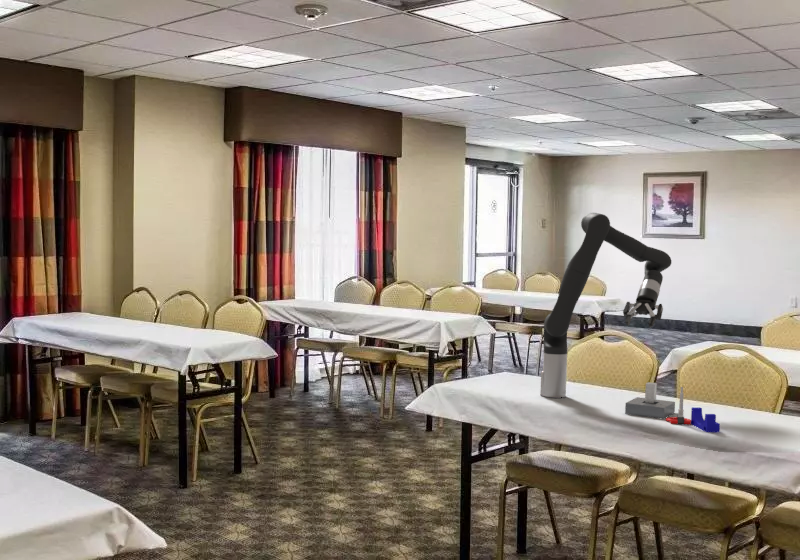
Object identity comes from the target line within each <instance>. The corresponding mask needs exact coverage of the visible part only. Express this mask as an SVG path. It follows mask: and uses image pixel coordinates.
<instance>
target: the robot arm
mask: <svg viewBox="0 0 800 560" xmlns="http://www.w3.org/2000/svg"><path fill="white" fill-rule="evenodd" d="M610 221H611V220H610V218H609V217H608V216H607V215H605V214H603V213H602V214H601V213H597V212H589V213H587V214H585V215H584V216H583V218H582V219H581V222H580V224H581V225H580V227H581V229H582V231H583V232H584V233H585V235H584V238H583V241H582V244H581V245H580V247H579V248H578V250H577V251H576V252H575V254H574V255H573V256H572V258H571V259H570V261H569V262H568V264H567V266H566V269H565V271H564V273H563V276H562V278H561V282H560V283H561V284H560V286H559V292H558V296H557V299H556V302H555V304H554V307H553V309H552V311H551V313H548V315H546V317H545V318H544V321H543V361H542V362H543V365H542V371H541V372H540V389H539V390H540V392H539V393H540V396H543V397H545V398H551V399H552V398H554V399H555V398H557V399H558V398H559V399H560V398H561V397H562V398H566V397H565V396H567V394H566V393H567V392H566V391H567V369H568V368H567V367H568V330H569V329H570V324H571V320H572V318H573V317H572V316H573V313H574V310H575V307H576V304H577V303H578V301H579V299H580V297H581V296H582V293H583V291H584V288H585V286H586V284H587V282H588V279H589V276H590V274H591V272H592V268H593V266H594V264H595V261H596V258H597V256H598V253H599V251H600V249H601V247H602V245H603V243H604V242H606V243H608V244H610V245H611V246H613V247H614V248H616V249H617V250H619V251H620V252H622V253H624V254H625V255H627V256H629V257H630V258H632V259H634V260H635V261H637V262H639V263H643V262H645V264H644V275H643V276H644V277H643V280H642V283H641V285H640V287H639V290H638V293H637V296H636V299H635V302H633V303H631V302H630V301H626V304H625V306H624V309H623V311H622V313H623V317H624V318H625V320H624V321H625V324H626V326H628V327H630V324H631V321H632V318H633V317H636V316H637V315H640V316H642V315H643V316H648V315H649V317H650V318H649V319H648V320H649V321H648V325H647V326H648V328H652V327H653V326H654V325H655V321H656V320H659V321H660V320H661V319H662V316H663V311H664V306H663V304H662V303H659V304H658V305H657V301H658V298H659V296H660V292H661V287H662V283H663V278H664V276H663V274H662V272H663V271H665V270H666V269H669V268H670V267H671V265H672V258H671V257H670V255H669V254H668V252H665V251H663V250H661V249H658V248H654V247H651V246H648V245H646V244H645V243H643V242H642V241H640V240H639V239H636V238H634V237H633V236H631V235H628V234H626V233H624V232H622V231H620V230H618V229H616V228H615V227H614V226H612V225H611V222H610ZM655 310H656V314H655V313H654V311H655Z"/></svg>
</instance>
